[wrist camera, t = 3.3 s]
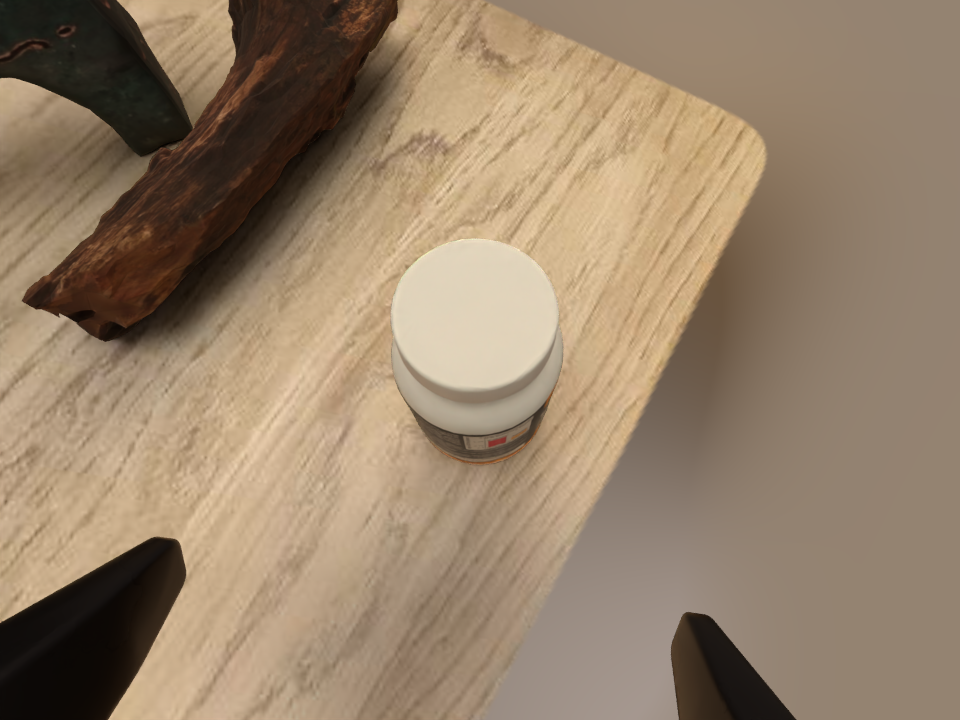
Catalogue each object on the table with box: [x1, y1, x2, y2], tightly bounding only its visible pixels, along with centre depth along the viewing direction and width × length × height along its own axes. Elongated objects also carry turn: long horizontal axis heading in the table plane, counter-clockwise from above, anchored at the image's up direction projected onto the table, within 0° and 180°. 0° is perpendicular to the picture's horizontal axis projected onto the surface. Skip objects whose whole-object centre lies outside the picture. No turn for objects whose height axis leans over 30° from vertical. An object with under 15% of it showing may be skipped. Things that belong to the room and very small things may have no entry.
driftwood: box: [22, 0, 398, 342], centre depth 24 cm, size 23×8×8 cm, turn 158°
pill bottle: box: [391, 238, 563, 465], centre depth 19 cm, size 6×6×10 cm
